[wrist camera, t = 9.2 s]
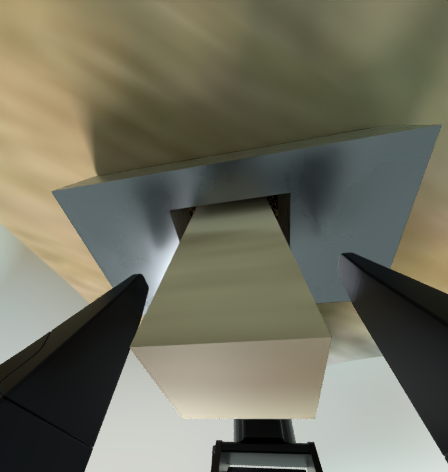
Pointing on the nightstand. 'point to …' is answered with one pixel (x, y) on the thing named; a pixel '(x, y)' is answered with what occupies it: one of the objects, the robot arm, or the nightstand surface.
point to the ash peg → (235, 321)
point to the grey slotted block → (259, 185)
